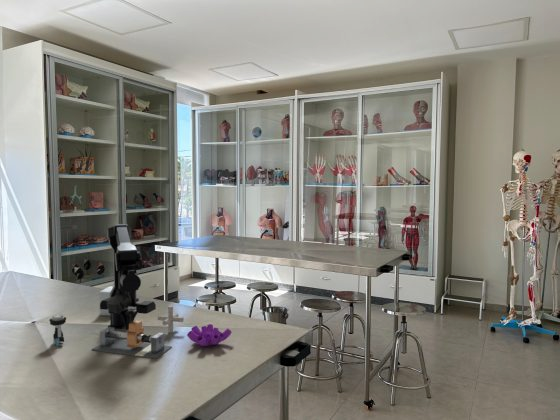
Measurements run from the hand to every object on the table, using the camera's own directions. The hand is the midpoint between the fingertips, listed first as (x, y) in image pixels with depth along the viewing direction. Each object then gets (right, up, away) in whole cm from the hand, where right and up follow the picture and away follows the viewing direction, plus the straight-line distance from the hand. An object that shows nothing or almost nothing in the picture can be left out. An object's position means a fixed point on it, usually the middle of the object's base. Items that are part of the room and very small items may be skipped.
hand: (128, 329), depth 146 cm
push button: (-26, -6, +3) cm, 27 cm away
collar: (+3, -5, 0) cm, 6 cm away
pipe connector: (+10, -6, +17) cm, 21 cm away
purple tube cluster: (+27, -7, +5) cm, 28 cm away
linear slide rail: (+1, -7, 0) cm, 7 cm away
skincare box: (-22, -4, +42) cm, 48 cm away
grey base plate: (+1, -7, 0) cm, 7 cm away
